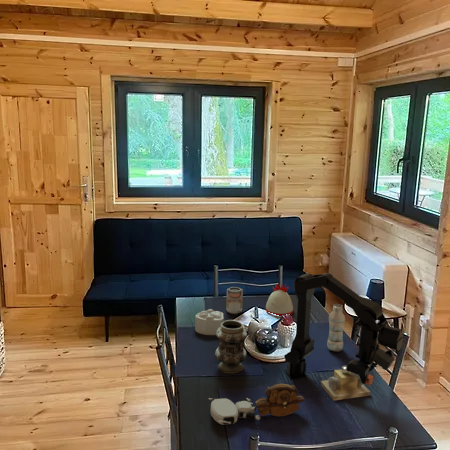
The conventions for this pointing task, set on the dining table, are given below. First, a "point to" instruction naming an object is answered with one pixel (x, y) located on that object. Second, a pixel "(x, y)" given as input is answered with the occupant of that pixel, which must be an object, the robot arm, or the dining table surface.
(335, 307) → the plastic bottle
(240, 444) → the dining table surface
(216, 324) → the lumpy-topped squat cylinder
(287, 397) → the wooden carving
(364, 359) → the robot arm
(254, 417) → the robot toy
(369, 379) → the lever
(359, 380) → the valve board
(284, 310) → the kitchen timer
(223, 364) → the apothecary jar
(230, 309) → the beige cylinder
